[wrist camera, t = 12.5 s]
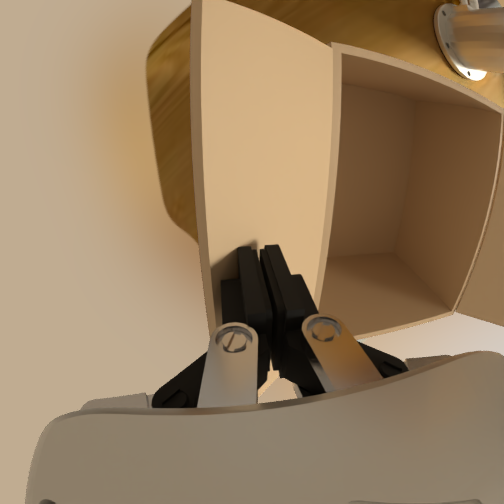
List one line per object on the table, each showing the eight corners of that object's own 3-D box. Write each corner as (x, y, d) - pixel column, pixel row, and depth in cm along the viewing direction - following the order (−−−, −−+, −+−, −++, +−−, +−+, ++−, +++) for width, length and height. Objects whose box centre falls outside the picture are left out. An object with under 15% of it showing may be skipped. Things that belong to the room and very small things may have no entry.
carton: (275, 71, 23) (331, 41, 11) (416, 96, 25) (504, 109, 13) (271, 263, 34) (303, 349, 22) (393, 253, 36) (453, 314, 24)
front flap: (332, 48, 11) (324, 49, 12) (202, -7, 5) (191, -2, 5) (304, 347, 21) (299, 344, 22) (229, 424, 15) (223, 420, 15)
